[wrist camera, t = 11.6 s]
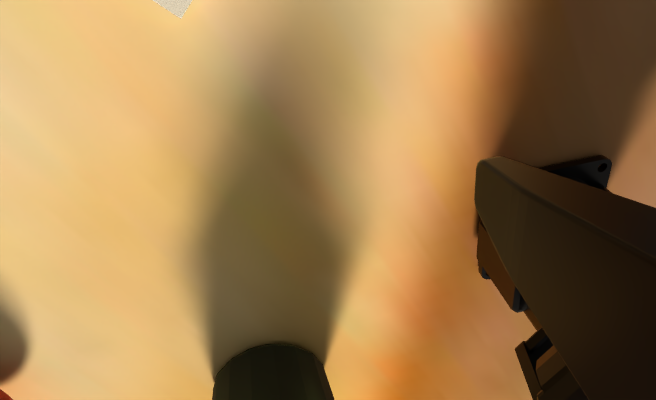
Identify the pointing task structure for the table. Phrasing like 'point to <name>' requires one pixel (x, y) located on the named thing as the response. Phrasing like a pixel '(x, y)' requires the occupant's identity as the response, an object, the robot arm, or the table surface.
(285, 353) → the potion bottle
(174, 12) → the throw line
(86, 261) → the table surface
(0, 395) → the onion
